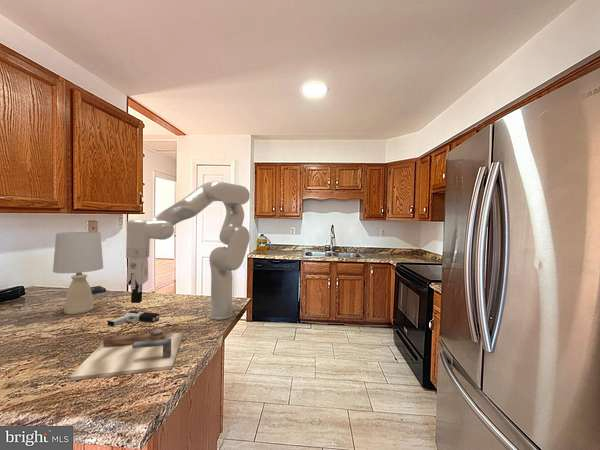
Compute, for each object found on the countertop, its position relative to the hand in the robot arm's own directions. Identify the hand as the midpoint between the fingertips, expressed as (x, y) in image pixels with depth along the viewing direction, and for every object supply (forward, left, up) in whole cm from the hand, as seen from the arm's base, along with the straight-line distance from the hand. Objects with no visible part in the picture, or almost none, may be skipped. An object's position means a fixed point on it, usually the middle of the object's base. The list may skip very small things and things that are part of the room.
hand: (136, 302), depth 104 cm
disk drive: (+44, -73, -14) cm, 86 cm away
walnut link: (-2, +7, -12) cm, 14 cm away
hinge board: (-4, +14, -13) cm, 19 cm away
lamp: (+34, -39, -13) cm, 54 cm away
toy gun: (+5, -17, -14) cm, 22 cm away
